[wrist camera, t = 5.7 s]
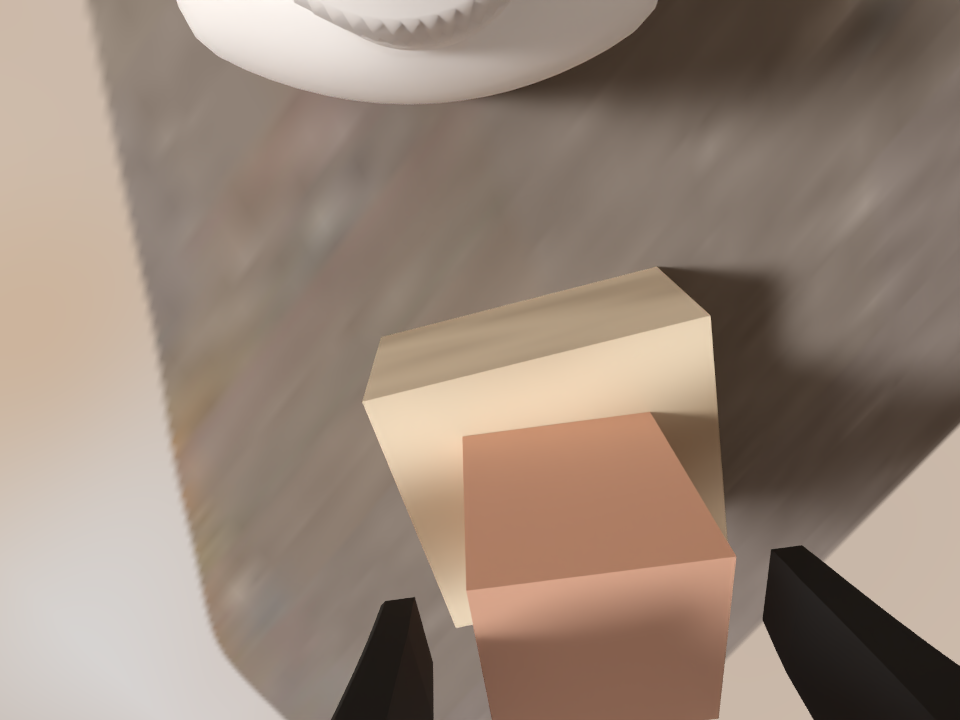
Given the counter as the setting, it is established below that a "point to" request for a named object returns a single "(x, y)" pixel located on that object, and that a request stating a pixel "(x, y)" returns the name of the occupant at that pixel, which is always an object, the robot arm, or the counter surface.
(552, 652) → the terracotta cube
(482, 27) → the eye dropper bottle
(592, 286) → the birch block
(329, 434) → the counter surface
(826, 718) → the robot arm
